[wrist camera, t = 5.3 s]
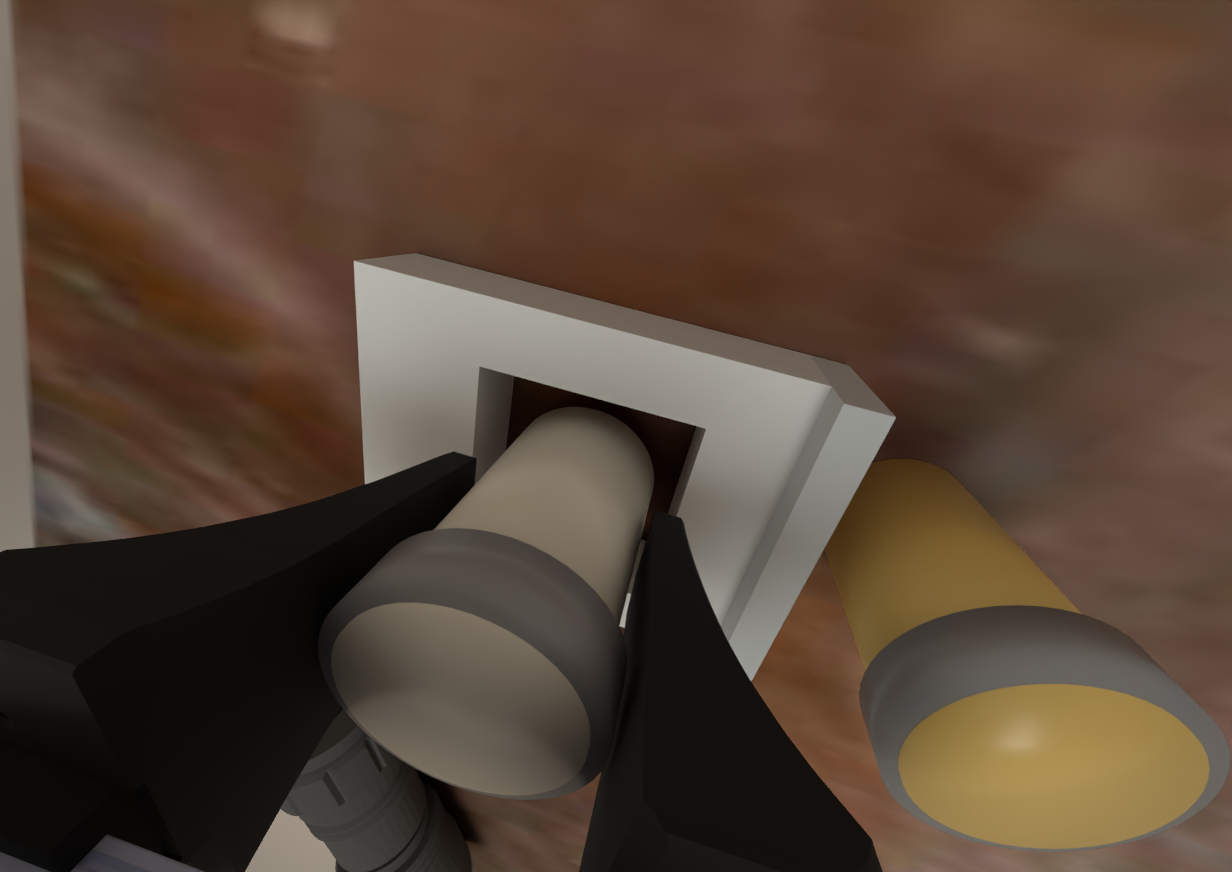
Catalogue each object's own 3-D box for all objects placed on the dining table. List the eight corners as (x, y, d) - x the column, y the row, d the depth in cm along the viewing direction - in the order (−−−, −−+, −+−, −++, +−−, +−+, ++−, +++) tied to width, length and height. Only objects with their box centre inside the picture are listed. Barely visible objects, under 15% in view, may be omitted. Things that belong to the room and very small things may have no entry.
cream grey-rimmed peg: (687, 427, 12) (650, 668, 5) (640, 559, 14) (573, 839, 8) (517, 373, 12) (300, 543, 6) (496, 511, 14) (321, 742, 8)
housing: (848, 364, 12) (896, 417, 9) (680, 724, 19) (673, 823, 16) (416, 253, 13) (320, 265, 10) (412, 637, 20) (357, 714, 17)
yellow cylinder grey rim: (1018, 475, 12) (1331, 741, 6) (929, 597, 14) (1093, 887, 8) (846, 429, 13) (975, 635, 6) (783, 554, 15) (834, 802, 8)
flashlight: (310, 649, 22) (200, 767, 18) (407, 656, 21) (317, 784, 16) (410, 828, 28) (348, 952, 24) (489, 842, 27) (442, 975, 22)
